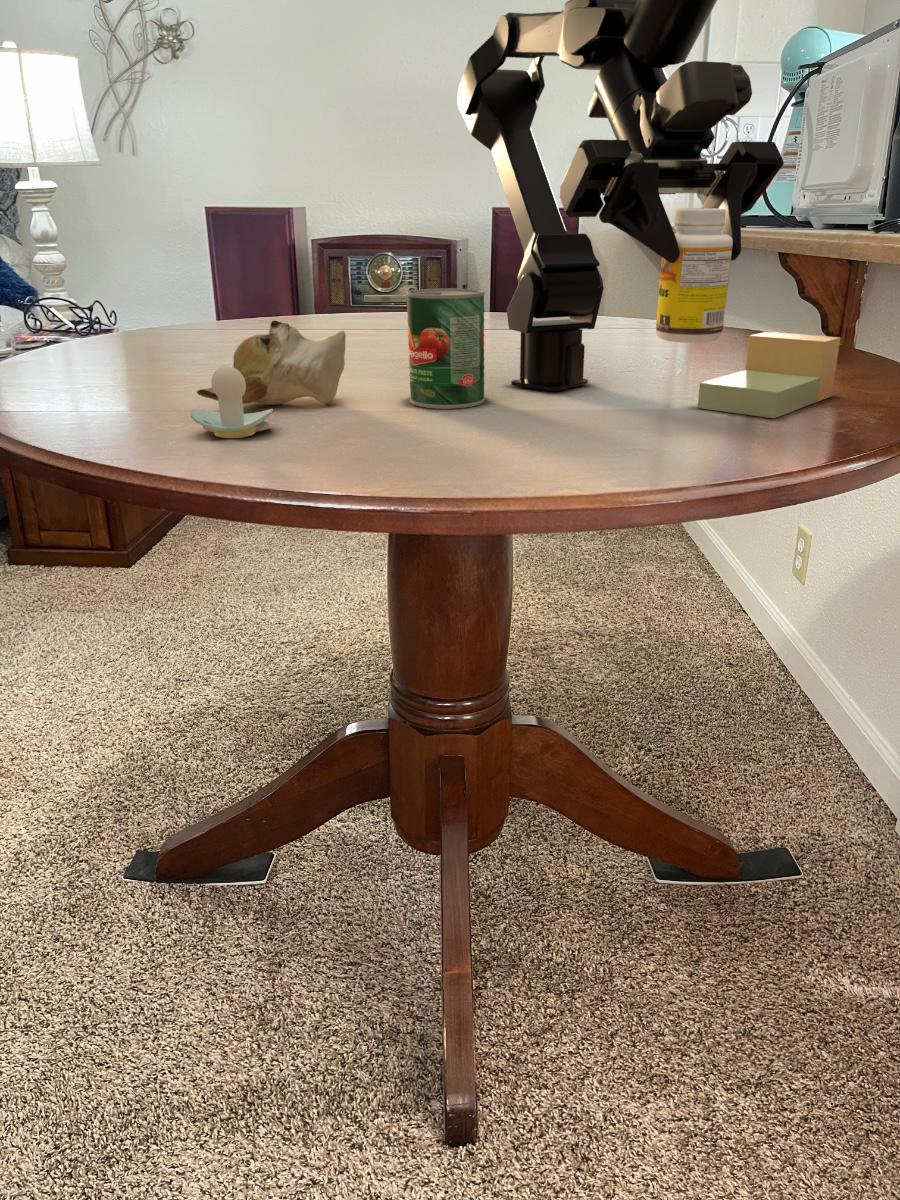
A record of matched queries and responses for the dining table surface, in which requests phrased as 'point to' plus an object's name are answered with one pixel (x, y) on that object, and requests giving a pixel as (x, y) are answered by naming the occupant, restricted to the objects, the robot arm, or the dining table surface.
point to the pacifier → (230, 408)
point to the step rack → (776, 376)
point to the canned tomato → (446, 347)
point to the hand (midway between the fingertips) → (705, 257)
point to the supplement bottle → (695, 278)
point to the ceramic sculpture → (288, 366)
